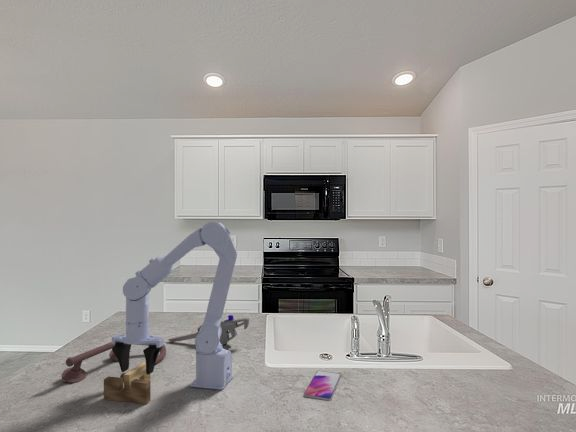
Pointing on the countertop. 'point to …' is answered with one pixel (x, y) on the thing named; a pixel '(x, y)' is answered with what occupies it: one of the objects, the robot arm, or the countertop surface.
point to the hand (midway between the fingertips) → (137, 371)
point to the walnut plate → (127, 390)
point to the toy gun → (225, 325)
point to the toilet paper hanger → (79, 374)
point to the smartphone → (323, 385)
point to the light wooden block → (136, 375)
